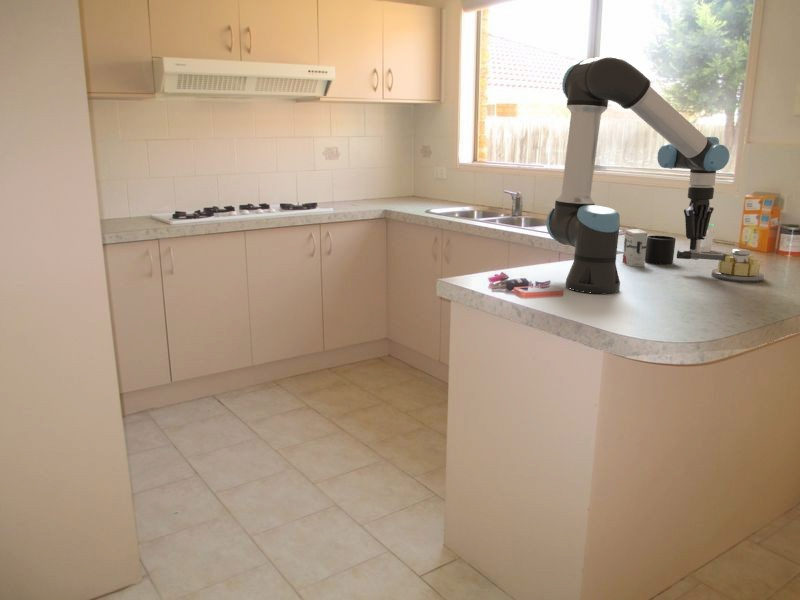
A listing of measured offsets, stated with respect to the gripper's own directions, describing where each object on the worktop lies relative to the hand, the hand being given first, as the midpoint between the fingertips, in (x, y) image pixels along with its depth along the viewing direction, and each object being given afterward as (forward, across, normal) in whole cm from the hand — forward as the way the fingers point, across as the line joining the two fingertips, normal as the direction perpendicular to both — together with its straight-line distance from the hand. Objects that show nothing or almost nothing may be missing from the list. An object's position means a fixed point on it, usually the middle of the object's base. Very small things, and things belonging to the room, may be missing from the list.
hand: (693, 259), depth 218 cm
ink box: (+5, +4, -20) cm, 21 cm away
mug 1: (+5, -7, -19) cm, 21 cm away
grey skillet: (+3, -2, +7) cm, 8 cm away
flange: (+5, -6, +12) cm, 14 cm away
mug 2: (+6, -44, -25) cm, 51 cm away
